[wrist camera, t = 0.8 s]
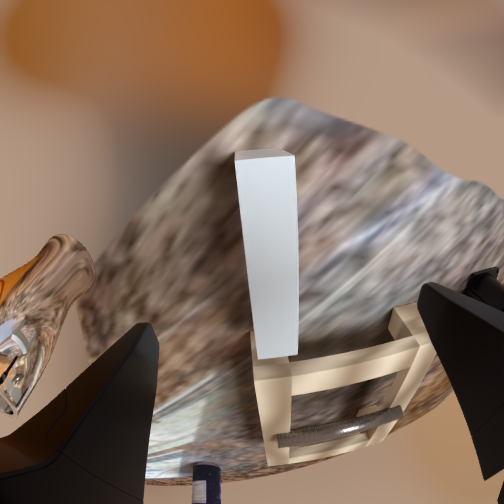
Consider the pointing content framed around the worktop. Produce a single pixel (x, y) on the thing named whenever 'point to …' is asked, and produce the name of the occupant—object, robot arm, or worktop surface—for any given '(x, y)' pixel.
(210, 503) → the beverage can
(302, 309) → the worktop surface
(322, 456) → the shelf
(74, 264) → the beer glass
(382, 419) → the rod
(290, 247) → the long white beam
